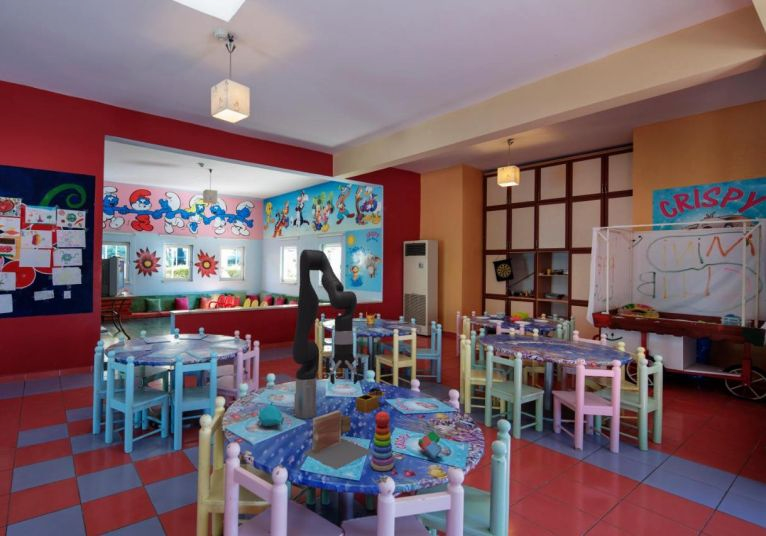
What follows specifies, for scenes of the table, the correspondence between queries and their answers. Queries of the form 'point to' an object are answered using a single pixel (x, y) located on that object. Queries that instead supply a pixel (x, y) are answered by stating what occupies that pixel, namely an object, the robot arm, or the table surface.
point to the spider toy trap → (369, 401)
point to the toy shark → (270, 416)
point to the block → (345, 423)
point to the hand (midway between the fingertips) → (344, 383)
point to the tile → (326, 431)
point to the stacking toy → (382, 444)
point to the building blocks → (430, 444)
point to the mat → (339, 454)
